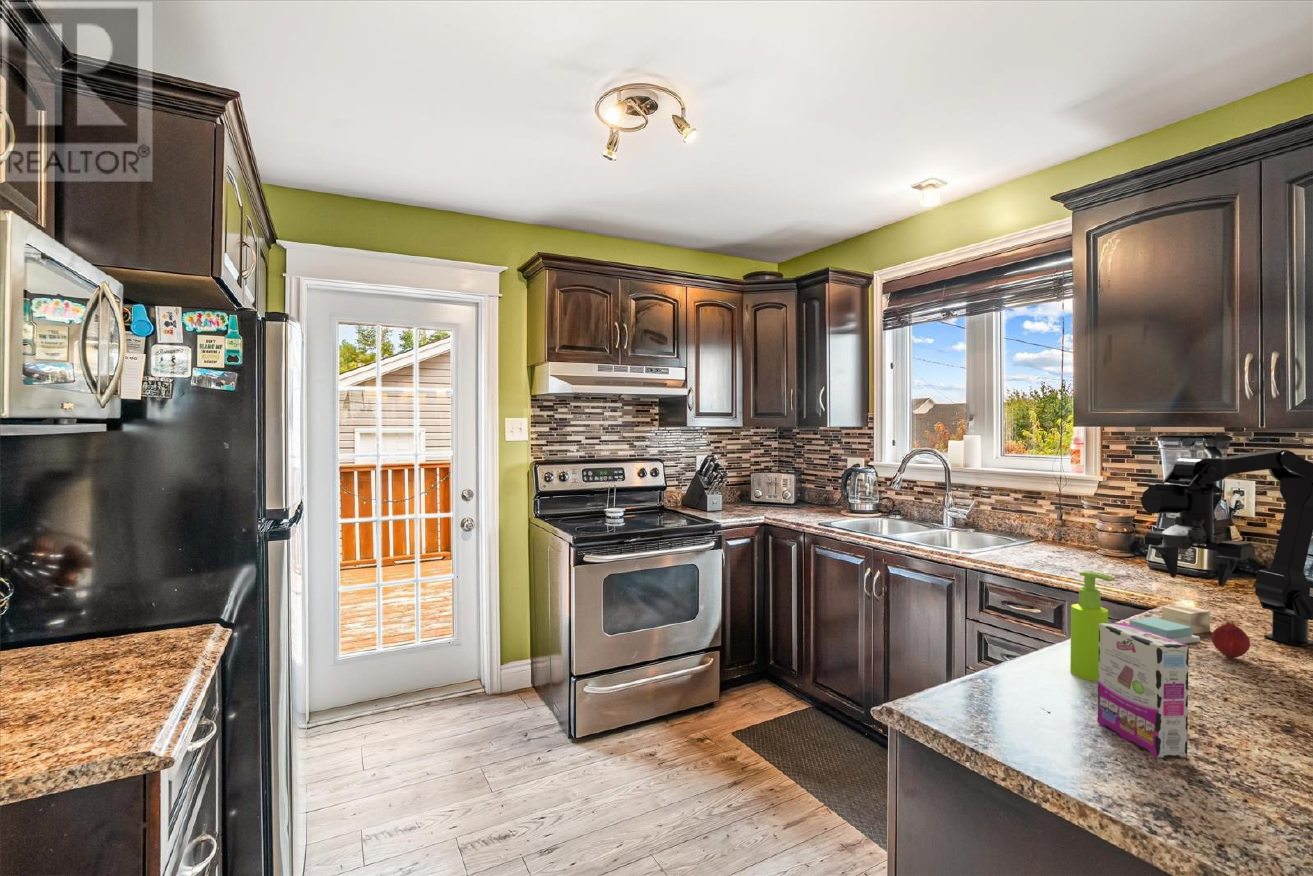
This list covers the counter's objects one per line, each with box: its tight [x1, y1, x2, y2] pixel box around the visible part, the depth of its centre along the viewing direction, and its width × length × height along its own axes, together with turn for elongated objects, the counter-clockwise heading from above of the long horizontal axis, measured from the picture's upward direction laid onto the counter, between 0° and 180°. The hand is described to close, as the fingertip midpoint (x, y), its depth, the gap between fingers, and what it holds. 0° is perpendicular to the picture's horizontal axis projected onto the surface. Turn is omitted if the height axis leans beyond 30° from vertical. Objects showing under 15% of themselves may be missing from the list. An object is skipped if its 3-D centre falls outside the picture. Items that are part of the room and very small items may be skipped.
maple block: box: [1161, 603, 1211, 635], centre depth 146 cm, size 7×6×5 cm
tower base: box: [1129, 616, 1201, 645], centre depth 140 cm, size 10×10×3 cm
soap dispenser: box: [1070, 570, 1116, 682], centre depth 117 cm, size 6×7×20 cm
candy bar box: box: [1097, 622, 1190, 759], centre depth 93 cm, size 11×5×16 cm, turn 5°
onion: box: [1211, 619, 1251, 660], centre depth 127 cm, size 6×6×8 cm
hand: (1196, 581), depth 138 cm, fingers open, 9 cm apart
